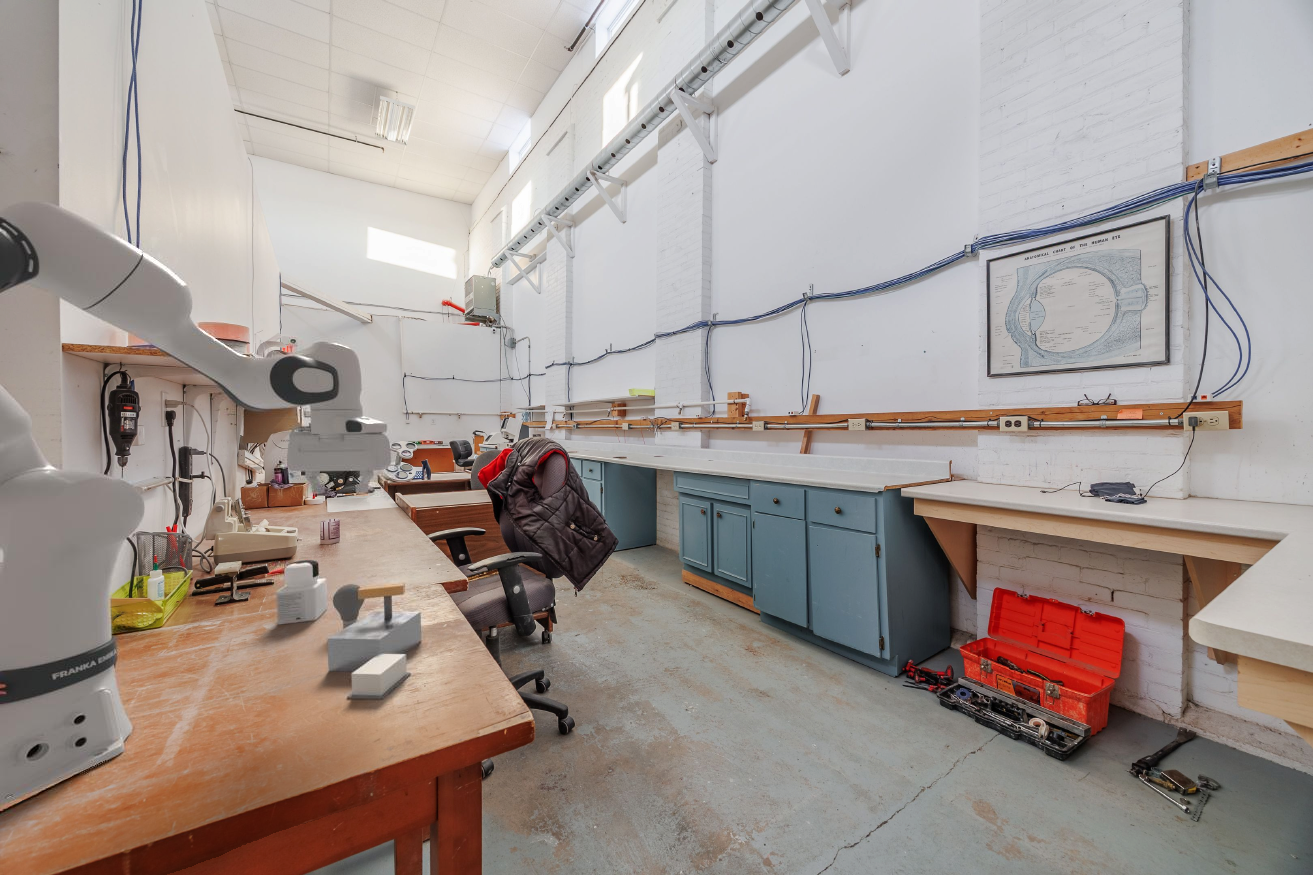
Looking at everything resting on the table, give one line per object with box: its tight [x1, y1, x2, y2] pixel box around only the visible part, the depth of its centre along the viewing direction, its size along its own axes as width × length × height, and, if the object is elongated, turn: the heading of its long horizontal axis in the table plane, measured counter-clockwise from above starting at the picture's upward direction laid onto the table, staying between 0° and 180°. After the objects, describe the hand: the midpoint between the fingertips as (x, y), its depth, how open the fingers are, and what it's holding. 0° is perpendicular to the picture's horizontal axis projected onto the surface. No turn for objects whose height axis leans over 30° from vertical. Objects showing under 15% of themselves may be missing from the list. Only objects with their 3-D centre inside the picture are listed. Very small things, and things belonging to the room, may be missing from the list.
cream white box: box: [351, 653, 408, 696], centre depth 83 cm, size 7×5×4 cm
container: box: [275, 559, 328, 625], centre depth 115 cm, size 8×8×13 cm
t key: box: [358, 583, 406, 619], centre depth 98 cm, size 8×2×6 cm, turn 107°
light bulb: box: [332, 583, 366, 630], centre depth 107 cm, size 6×6×10 cm
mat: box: [346, 672, 412, 700], centre depth 83 cm, size 8×6×1 cm
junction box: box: [327, 610, 422, 673], centre depth 94 cm, size 13×10×6 cm
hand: (340, 493), depth 99 cm, fingers open, 8 cm apart
